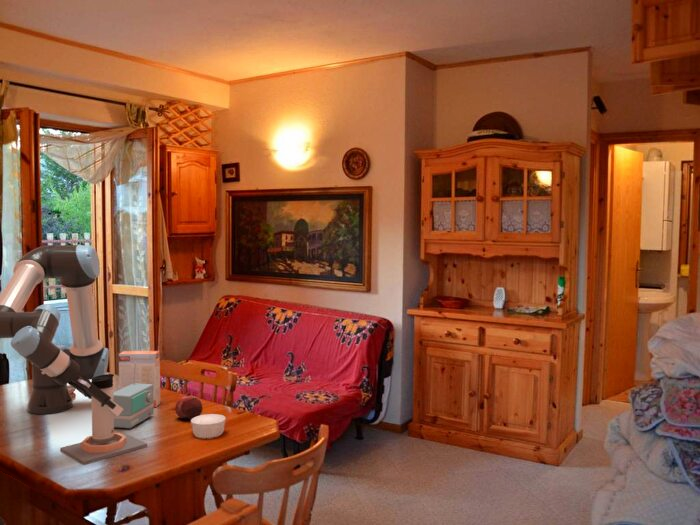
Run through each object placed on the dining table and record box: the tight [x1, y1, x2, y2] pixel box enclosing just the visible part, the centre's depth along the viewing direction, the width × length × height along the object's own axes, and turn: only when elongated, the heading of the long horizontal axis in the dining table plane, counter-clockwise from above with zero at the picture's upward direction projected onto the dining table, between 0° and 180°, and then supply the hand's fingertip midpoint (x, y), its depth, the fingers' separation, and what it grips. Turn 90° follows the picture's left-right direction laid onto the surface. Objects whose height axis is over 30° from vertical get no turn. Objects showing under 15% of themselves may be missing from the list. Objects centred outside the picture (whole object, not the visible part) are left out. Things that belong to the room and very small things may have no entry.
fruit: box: [174, 390, 203, 420], centre depth 222 cm, size 9×10×10 cm
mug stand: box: [59, 431, 148, 466], centre depth 192 cm, size 16×20×3 cm
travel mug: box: [91, 373, 115, 443], centre depth 191 cm, size 6×7×20 cm
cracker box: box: [118, 350, 161, 408], centre depth 237 cm, size 14×6×21 cm, turn 89°
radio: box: [113, 362, 155, 429], centre depth 216 cm, size 16×9×20 cm, turn 169°
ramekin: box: [190, 413, 227, 439], centre depth 206 cm, size 11×11×5 cm
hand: (114, 410), depth 194 cm, fingers closed on travel mug, 6 cm apart
